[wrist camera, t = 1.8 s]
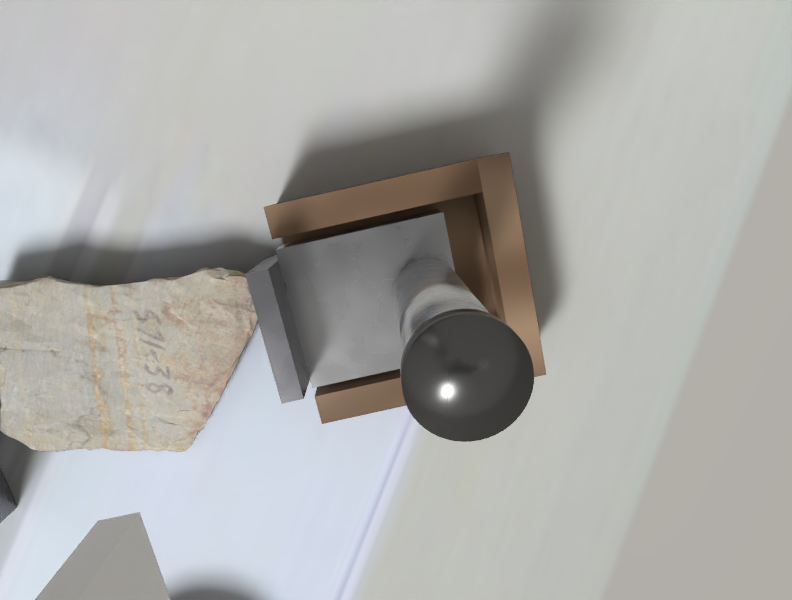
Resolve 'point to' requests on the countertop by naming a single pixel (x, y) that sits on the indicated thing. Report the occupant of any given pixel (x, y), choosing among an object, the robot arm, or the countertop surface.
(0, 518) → the grey rectangular bar
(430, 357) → the ram
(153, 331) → the stone
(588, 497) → the countertop surface
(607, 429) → the countertop surface
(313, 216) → the frame
